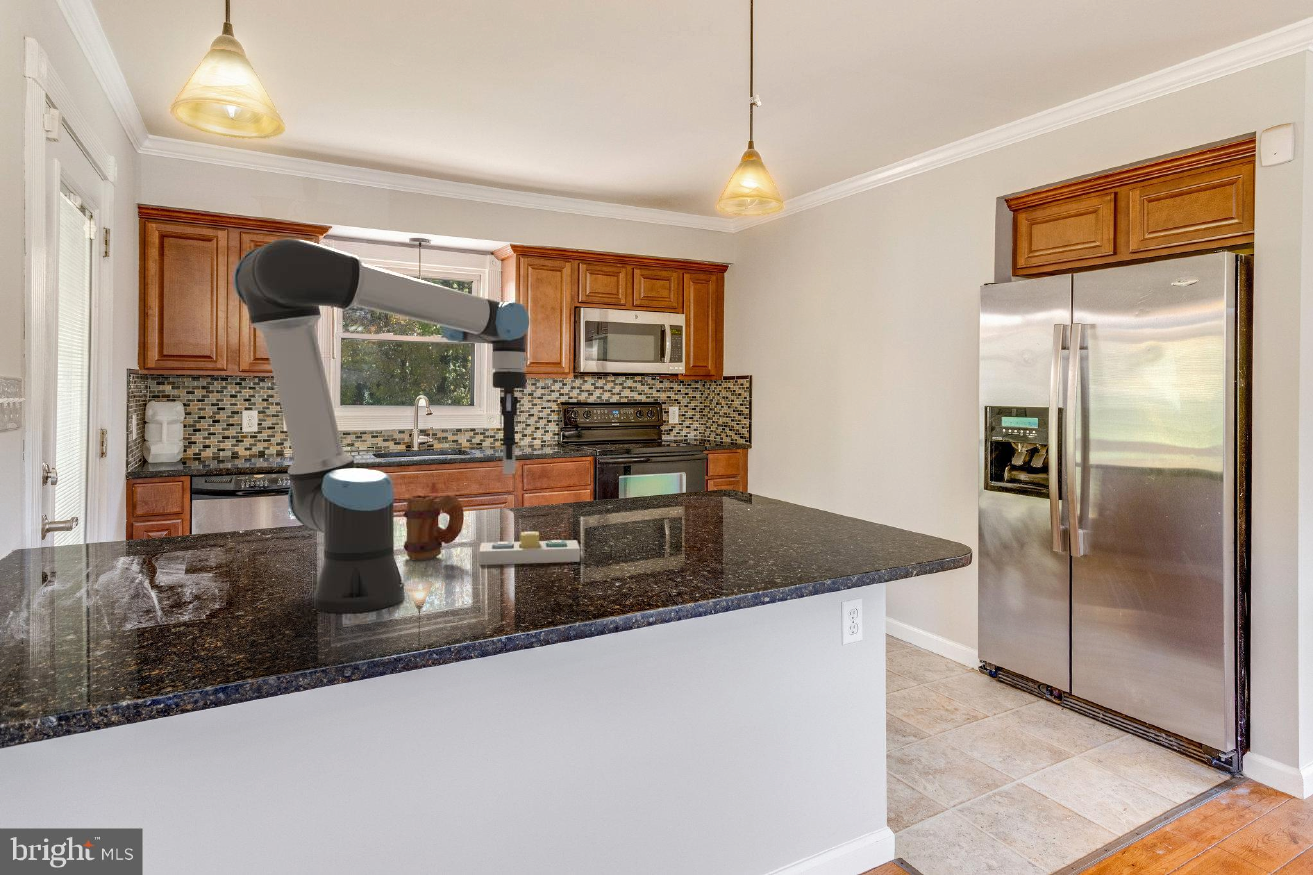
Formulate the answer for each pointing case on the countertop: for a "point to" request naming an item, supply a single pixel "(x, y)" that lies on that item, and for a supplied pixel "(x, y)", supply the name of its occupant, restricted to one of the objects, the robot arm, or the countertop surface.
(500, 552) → the keypad
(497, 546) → the key
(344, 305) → the robot arm
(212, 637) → the countertop surface
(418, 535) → the mug
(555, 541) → the key
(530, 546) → the key
